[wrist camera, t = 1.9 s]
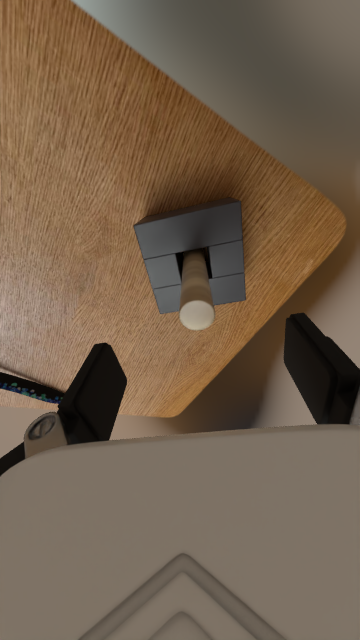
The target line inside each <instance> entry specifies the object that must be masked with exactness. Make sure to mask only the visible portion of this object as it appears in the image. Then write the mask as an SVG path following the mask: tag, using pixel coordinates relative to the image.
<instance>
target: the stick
mask: <svg viewBox="0 0 360 640" xmlns="http://www.w3.org/2000/svg"><path fill="white" fill-rule="evenodd" d="M179 319H180V321H181V323H182V324H183V325H184V326H185V327H186V328H188V329H191V330H202V329H205V328H207V327H209V326H210V325H211V324H212V323H213V321H214V319H215V309H214V304H213V299H212V294H211V289H210V284H209V278H208V273H207V268H206V263H205V258H204V253H203V248H198V249H193V250H188V251H184V260H183V271H182V283H181V295H180V306H179Z"/></svg>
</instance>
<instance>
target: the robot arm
mask: <svg viewBox="0 0 360 640" xmlns="http://www.w3.org/2000/svg"><path fill="white" fill-rule="evenodd" d="M284 363H285V365H286V367H287V369H288V371H289V373H290V375H291V377H292V378H293V380H294V382H295V384H296V386H297V388H298V390H299V392H300V393H301V395H302V397H303V399H304V401H305V403H306V404H307V406H308V408H309V410H310V412H311V414H312V416H313V418H314V419H315V421H316V423H317V425H300V426H285V427H284V426H283V427H269V428H256V429H243V430H230V431H217V432H204V433H193V434H180V435H169V436H155V437H144V438H134V439H133V438H132V439H121V440H109V439H110V436H111V432H112V429H113V426H114V423H115V420H116V416H117V413H118V410H119V407H120V404H121V401H122V398H123V395H124V391H125V388H126V385H127V378H126V376H125V374H124V372H123V370H122V368H121V366H120V363H119V361H118V359H117V357H116V355H115V353H114V351H113V349H112V347H111V345H108V344H107V343H99V344H95V345H94V347H93V348H92V350H91V352H90V353H89V355H88V357H87V358H86V360H85V362H84V363H83V365H82V367H81V368H80V370H79V372H78V373H77V375H76V377H75V378H74V380H73V382H72V383H71V385H70V387H69V388H68V390H67V392H66V393H65V395H64V397H63V398H62V400H61V402H60V403H59V405H58V408H59V410H58V411H57V413H56V412H49V413H46V414H43V415H42V416H40V417H38V418H37V419H36V420H34V421H33V422H32V423H31V424H30V426H29V427H28V429H27V430H26V432H25V434H24V442H23V443H21V444H20V445H18V446H17V447H16V448H14V449H13V450H11V451H10V452H9V453H7V454H6V455H4V456H3V457H2V458H0V640H360V369H359V368H358V367H357V366H356V365H355V364H354V363H353V362H352V360H351V359H349V357H348V356H347V355H346V354H345V353H344V352H343V351H342V350H341V349H340V348H339V347H338V345H337V344H335V342H334V341H333V340H332V339H331V338H329V337H326V336H325V335H324V334H323V333H322V332H321V331H320V330H319V329H318V328H317V326H316V325H315V324H314V323H313V322H312V321H311V320H310V319H309V318H308V317H307V315H305V313H297V314H291V315H290V317H289V318H287V319H286V328H285V345H284Z"/></svg>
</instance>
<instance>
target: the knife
mask: <svg viewBox="0 0 360 640" xmlns="http://www.w3.org/2000/svg"><path fill="white" fill-rule="evenodd" d="M0 389H5V390H9V391H12V392H16V393H20V394H23V395H26V396H29V397H32V398H35V399H38V400H42V401H45V402H50V403H56V404H59V403H60V402H61V400H62V398H63V397H64V395H65V393H63V392H60V391H58V390H55V389H52V388H50V387H47V386H44V385H41V384H38V383H36V382H33V381H29V380H26V379H22V378H19V377H16V376H12V375H9V374H6V373H2V372H0Z"/></svg>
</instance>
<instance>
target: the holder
mask: <svg viewBox="0 0 360 640" xmlns="http://www.w3.org/2000/svg"><path fill="white" fill-rule="evenodd" d="M134 230H135V233H136V236H137V239H138V243H139V246H140V249H141V253H142V256H143V259H144V263H145V266H146V269H147V273H148V276H149V279H150V283H151V286H152V289H153V292H154V296H155V299H156V302H157V305H158V309H159V312H160V314H164V313H171V312H177V311H179V306H180V295H181V283H182V271H183V263H182V258H181V253H180V252H183V251H188V250H193V249H198V248H203V247H207V254H208V262H205V263H206V268H207V273H208V278H209V284H210V289H211V294H212V299H213V304H214V305H220V304H226V303H232V302H238V301H244V300H246V294H245V274H244V253H243V240H242V239H243V235H242V215H241V201H239V200H236V199H233V198H230V197H229V198H224V199H220V200H216V201H211V202H207V203H203V204H199V205H194V206H190V207H186V208H181V209H177V210H173V211H169V212H164V213H160V214H156V215H152V216H147V217H144V218H143V219H142V220H140V221H139V222H138V223H136V224H135V225H134Z"/></svg>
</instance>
